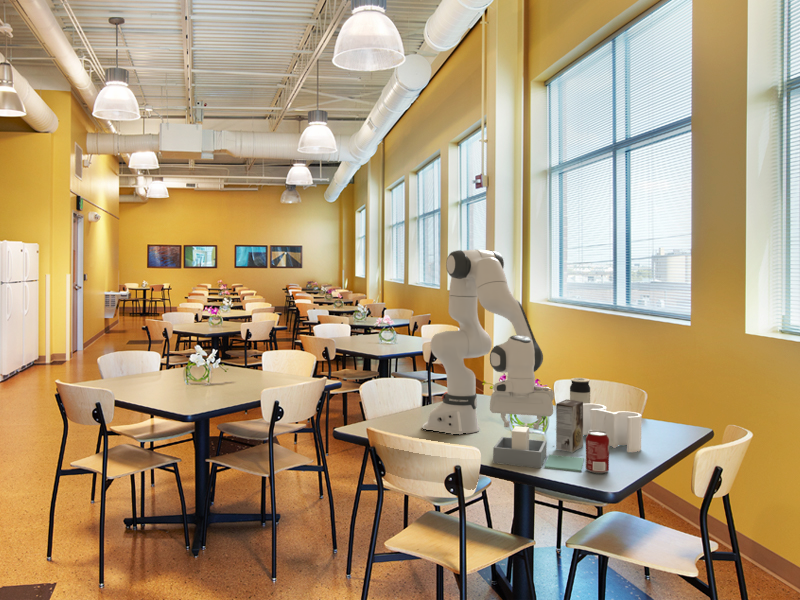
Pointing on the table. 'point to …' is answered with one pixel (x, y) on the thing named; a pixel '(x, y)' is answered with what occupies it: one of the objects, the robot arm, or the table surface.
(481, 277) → the robot arm
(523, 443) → the label box
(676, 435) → the table surface
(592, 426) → the bracket
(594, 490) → the table surface
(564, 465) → the mat
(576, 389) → the travel mug
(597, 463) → the soda can
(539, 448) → the parts bin
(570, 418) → the coffee box
